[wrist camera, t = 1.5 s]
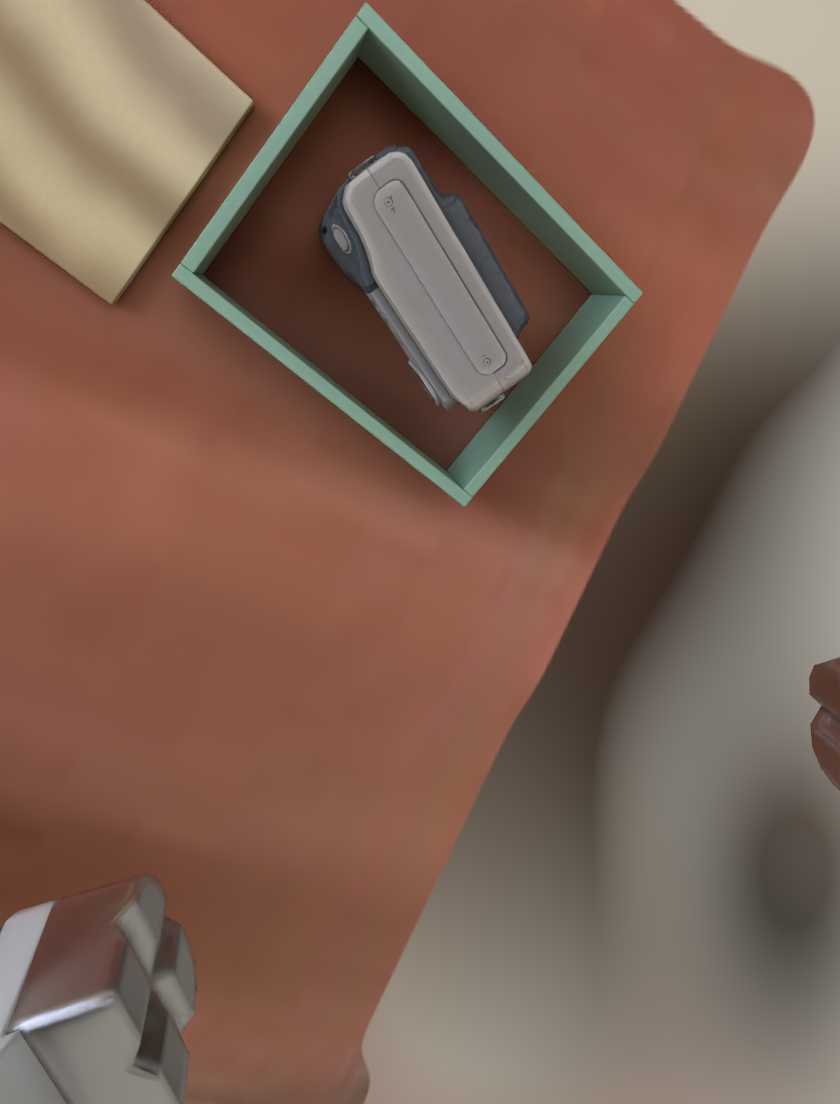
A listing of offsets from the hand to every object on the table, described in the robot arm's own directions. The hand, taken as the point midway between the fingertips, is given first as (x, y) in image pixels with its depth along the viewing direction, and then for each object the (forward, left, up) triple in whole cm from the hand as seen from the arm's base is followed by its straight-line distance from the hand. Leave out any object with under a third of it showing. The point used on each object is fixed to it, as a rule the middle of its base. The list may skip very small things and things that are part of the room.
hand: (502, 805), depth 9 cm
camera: (+7, 0, -35) cm, 36 cm away
